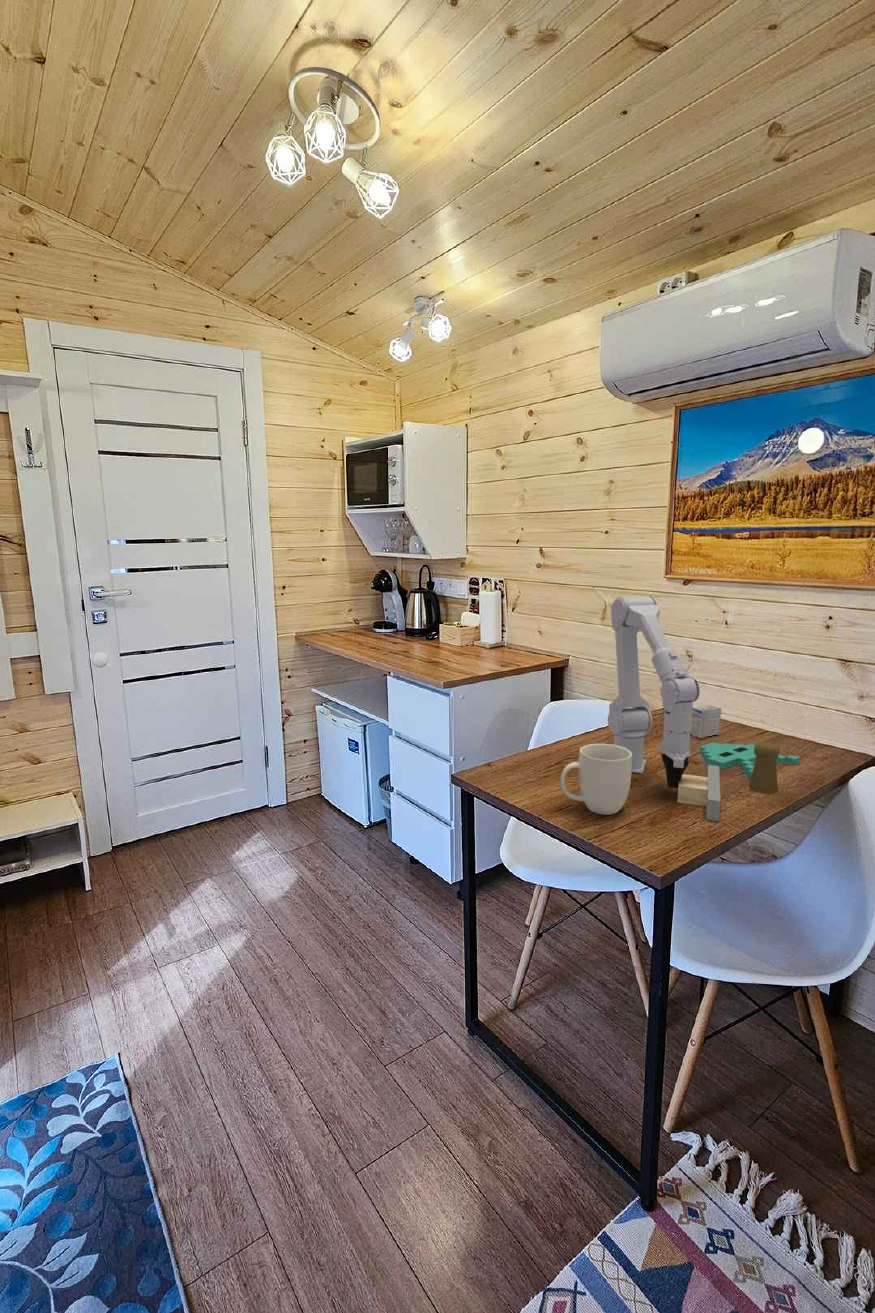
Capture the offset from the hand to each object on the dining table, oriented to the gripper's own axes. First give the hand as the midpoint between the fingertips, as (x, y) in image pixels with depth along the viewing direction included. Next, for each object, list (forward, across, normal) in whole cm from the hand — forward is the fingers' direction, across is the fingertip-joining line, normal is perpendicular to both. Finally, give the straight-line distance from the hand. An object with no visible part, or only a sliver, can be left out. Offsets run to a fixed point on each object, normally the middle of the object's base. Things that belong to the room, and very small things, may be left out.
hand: (672, 786), depth 142 cm
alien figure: (+3, -28, +20) cm, 35 cm away
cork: (+2, -9, +21) cm, 23 cm away
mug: (+2, +12, -16) cm, 20 cm away
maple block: (+2, 0, +4) cm, 5 cm away
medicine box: (+2, -50, +14) cm, 51 cm away
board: (+2, +1, +8) cm, 9 cm away
